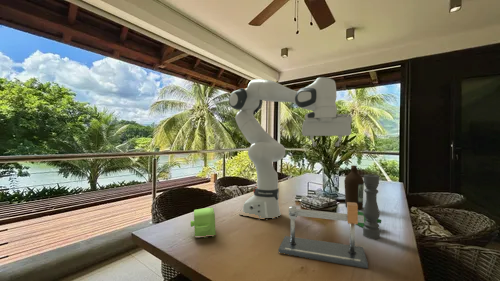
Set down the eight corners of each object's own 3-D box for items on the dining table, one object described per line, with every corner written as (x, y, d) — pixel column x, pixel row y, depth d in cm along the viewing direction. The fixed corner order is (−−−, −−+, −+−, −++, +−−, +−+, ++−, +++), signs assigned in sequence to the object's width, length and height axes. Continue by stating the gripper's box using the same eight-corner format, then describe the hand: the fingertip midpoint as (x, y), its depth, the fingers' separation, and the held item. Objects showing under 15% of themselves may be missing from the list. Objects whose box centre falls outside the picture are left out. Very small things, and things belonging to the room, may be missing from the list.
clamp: (375, 239, 102) (385, 223, 99) (363, 236, 101) (373, 220, 98) (362, 220, 113) (370, 205, 110) (351, 218, 112) (359, 203, 109)
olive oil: (341, 207, 137) (341, 165, 137) (348, 204, 144) (348, 164, 144) (359, 211, 129) (359, 167, 129) (366, 207, 136) (366, 165, 137)
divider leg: (347, 253, 76) (347, 204, 76) (347, 247, 80) (346, 201, 80) (357, 255, 75) (357, 205, 75) (356, 248, 79) (356, 202, 79)
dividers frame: (286, 244, 83) (286, 207, 84) (289, 237, 89) (289, 203, 89) (365, 256, 75) (365, 215, 75) (363, 248, 81) (363, 209, 81)
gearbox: (191, 227, 106) (190, 206, 106) (213, 224, 108) (212, 204, 108) (190, 243, 88) (189, 218, 88) (216, 239, 90) (215, 215, 91)
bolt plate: (278, 253, 80) (278, 248, 80) (285, 239, 91) (285, 235, 91) (367, 268, 70) (367, 263, 70) (362, 251, 82) (362, 246, 82)
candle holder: (360, 233, 98) (359, 174, 98) (373, 232, 98) (373, 174, 98) (368, 239, 92) (368, 176, 92) (383, 238, 92) (383, 176, 92)
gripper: (351, 114, 99) (351, 146, 99) (303, 116, 106) (303, 146, 106) (352, 112, 93) (352, 146, 93) (301, 114, 100) (301, 146, 100)
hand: (325, 146), depth 99 cm, fingers open, 8 cm apart
